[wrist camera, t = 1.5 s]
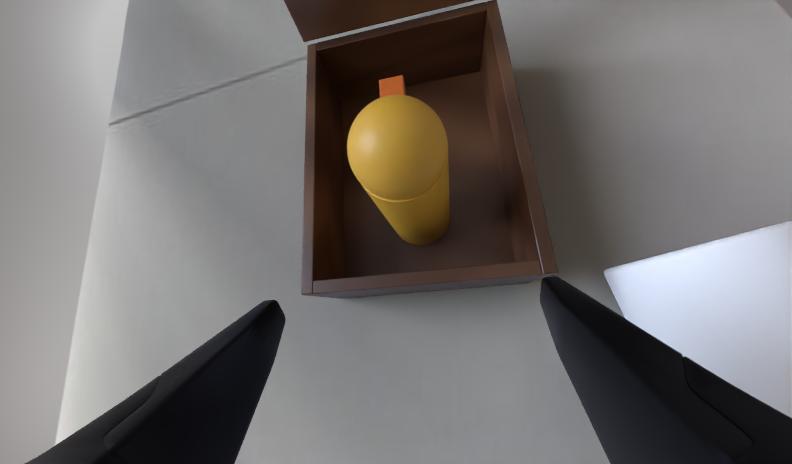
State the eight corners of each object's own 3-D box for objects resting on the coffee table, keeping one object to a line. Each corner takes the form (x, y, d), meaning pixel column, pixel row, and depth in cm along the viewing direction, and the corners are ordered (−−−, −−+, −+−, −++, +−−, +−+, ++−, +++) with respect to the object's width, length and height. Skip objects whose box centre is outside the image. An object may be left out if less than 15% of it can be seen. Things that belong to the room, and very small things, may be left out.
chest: (528, 283, 21) (559, 273, 15) (340, 298, 23) (300, 295, 17) (486, 69, 26) (496, -2, 20) (337, 100, 28) (307, 44, 22)
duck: (453, 242, 22) (454, 161, 10) (394, 248, 22) (330, 181, 11) (444, 170, 23) (435, 28, 11) (390, 179, 24) (330, 53, 12)
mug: (652, 434, 17) (812, 535, 9) (580, 275, 20) (657, 255, 12) (878, 390, 16) (1273, 466, 8) (764, 227, 19) (976, 172, 11)
